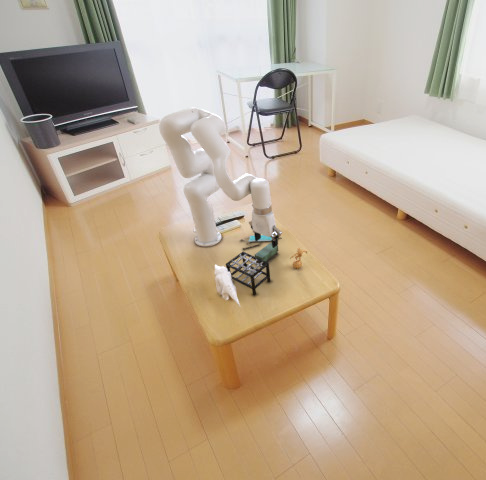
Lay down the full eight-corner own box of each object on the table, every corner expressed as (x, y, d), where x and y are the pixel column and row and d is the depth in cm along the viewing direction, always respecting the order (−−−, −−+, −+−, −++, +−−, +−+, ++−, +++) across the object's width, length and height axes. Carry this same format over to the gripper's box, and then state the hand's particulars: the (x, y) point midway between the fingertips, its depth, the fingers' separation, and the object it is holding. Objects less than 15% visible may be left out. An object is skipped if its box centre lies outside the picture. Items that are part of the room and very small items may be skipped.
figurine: (303, 262, 151) (302, 240, 144) (310, 269, 147) (310, 247, 140) (286, 268, 148) (285, 246, 141) (293, 276, 144) (292, 253, 137)
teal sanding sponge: (263, 267, 148) (262, 258, 145) (255, 263, 150) (254, 254, 147) (278, 254, 156) (278, 245, 153) (271, 251, 158) (270, 242, 155)
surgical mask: (277, 222, 170) (284, 232, 163) (277, 230, 173) (284, 239, 165) (237, 232, 162) (242, 243, 155) (238, 240, 165) (244, 250, 158)
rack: (229, 282, 140) (225, 263, 134) (245, 269, 147) (242, 251, 141) (254, 295, 134) (252, 276, 128) (270, 281, 141) (268, 262, 135)
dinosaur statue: (226, 276, 143) (222, 255, 136) (250, 311, 127) (247, 290, 120) (210, 282, 140) (205, 261, 133) (233, 319, 124) (228, 297, 117)
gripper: (240, 207, 139) (246, 241, 149) (273, 218, 131) (276, 253, 141) (252, 199, 144) (257, 233, 154) (284, 210, 137) (287, 244, 146)
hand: (266, 242), depth 148 cm, fingers open, 9 cm apart
